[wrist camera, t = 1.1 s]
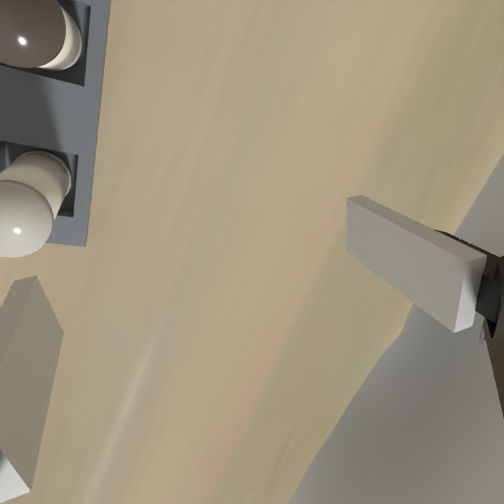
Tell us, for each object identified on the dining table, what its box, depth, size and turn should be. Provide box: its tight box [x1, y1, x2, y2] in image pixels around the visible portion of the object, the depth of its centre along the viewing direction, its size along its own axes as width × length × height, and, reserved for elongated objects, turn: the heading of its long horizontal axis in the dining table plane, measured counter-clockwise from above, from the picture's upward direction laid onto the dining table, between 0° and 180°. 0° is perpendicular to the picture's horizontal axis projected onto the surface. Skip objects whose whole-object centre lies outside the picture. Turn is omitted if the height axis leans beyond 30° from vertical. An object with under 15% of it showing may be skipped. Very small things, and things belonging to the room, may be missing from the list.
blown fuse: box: [0, 0, 83, 71], centre depth 23 cm, size 5×5×12 cm
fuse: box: [0, 149, 72, 257], centre depth 27 cm, size 5×5×12 cm
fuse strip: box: [0, 0, 111, 247], centre depth 29 cm, size 8×22×2 cm, turn 164°
